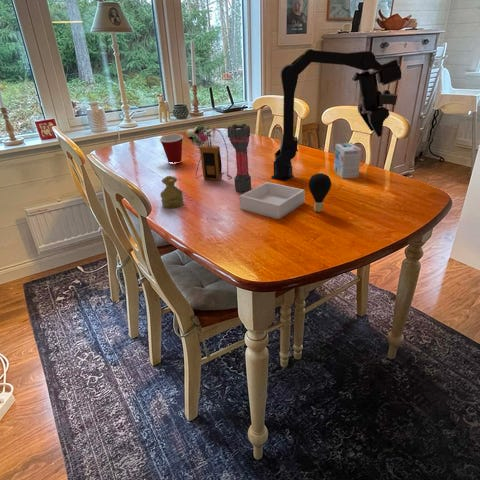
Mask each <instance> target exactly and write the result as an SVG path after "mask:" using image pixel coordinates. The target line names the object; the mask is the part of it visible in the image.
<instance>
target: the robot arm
mask: <svg viewBox="0 0 480 480" xmlns="http://www.w3.org/2000/svg"><path fill="white" fill-rule="evenodd" d="M311 63H316V64H317V63H319V64H329V65H339V66H347V67H351V68H354V69H356V70H362V71H364V72H361V73H359V72H357V71H356V72H355V73H354V76H353V77H352V78H351V80H352V81H354V82H358V84H359V89H360V91H359V92H360V94H359V98H360V99H361V101H362V103H359V105H358V106H357V113H359V116H361V118H362V119H363V121H364V122H365V124H366V126H367V127H368V129H369V130H370V131H371V132H374V133H375V135H376V136H377V137H378V138H380V137H382V135H383V134H382V133H383V126H384V122H385V121H386V119H388V118H389V116H390V110H389V109H388V108H386V107H384V105H391V106H396V105H397V101H398V97H399V96H398V95H397V94H395V93H391V92H390V90H388V89H384V90H383V91H382V92H381V91H380V90H379V86H378V84H381V85H382V86H386V85H389V84H392V83H395V82H398V81H401V80H402V69H401V68H400V65H399V63H398V59H396V58H395V59H391V60H390V61H387V62H385V63H382V64H381V63H380V62H379V61H378V60H377V59H376V55H375V54H374V53H373V52H372V51H369V50H359V51H350V52H338V51H325V50H315V49H311V48H307V49H306V50H305V51H304V52H303V53H302V54H301V55H299V56H298V57H297V58H296V59H295V60H294V61H292V62H291V63H289V64H285V65H283V67H282V68H281V69H280V80H281V86H282V93H283V104H282V105H283V108H282V110H283V115H282V118H283V119H282V120H283V121H282V129H283V130H282V136H281V140H280V144H279V145H280V146H279V148H278V150H277V151H276V152H275V153H274V159H275V160H274V161H273V175H272V176H271V177H270V178H271V179H275V180H279V181H287V180H289V179H291V178H293V177H294V174H293V166H292V159H294V158H295V157H296V155H297V153H298V152H299V150H298V144H299V139H298V136H294V120H295V119H294V118H295V117H294V116H295V114H294V113H295V112H294V111H295V92H296V88H297V85H298V79H299V75H300V74H301V73H302V72H304V70H305V69H307V68H308V66H309V65H311ZM369 70H373V71H372V72H370V71H369Z"/></svg>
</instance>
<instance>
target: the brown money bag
mask: <svg viewBox="0 0 480 480" xmlns="http://www.w3.org/2000/svg"><path fill="white" fill-rule="evenodd" d="M177 181H178V178H177V177H174V176H171V175H167V176H166V177H164V178H162V179H161V182H162V184H164V185H165V187H164V189H163V190H162V191H161V192H160V194H159V195H160V198H161V200H160V201H161V206H162V207H163V208H165V209H177V208H180V207H182V206H183V205H184V197H183V193H184V192H183V190H181V189H180V188H178V187H176V186H175V183H176V182H177Z"/></svg>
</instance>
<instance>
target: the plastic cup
mask: <svg viewBox="0 0 480 480" xmlns="http://www.w3.org/2000/svg"><path fill="white" fill-rule="evenodd" d="M183 138H184V135H183V134H179V133H171V134H166V135H163V136H161V137H160V138H158V141H159V142H160V143H161V145H162V147H163V151H164V153H165V157H166V158H167V163H169V162H173V163H174V162H180V161H181V162H182V155H183Z"/></svg>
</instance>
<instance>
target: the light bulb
mask: <svg viewBox="0 0 480 480" xmlns="http://www.w3.org/2000/svg"><path fill="white" fill-rule="evenodd" d="M307 184H308V185H307V186H308V189H309V192H310V194H311V195H312V198H313V200H314V203H313V204H314V206H313V210H314V211H315V212H317V213H320V212H322V211H323V210H324V209H323V208H324V200H325V198H326V197H327V195H328V194H329V191H330V190H331V187H332V180H331V178H330V177H329V176H328V174H326V173H319V172H318V173H315V174H313V175H312V176H311V177H310V178H309V180H308V183H307Z"/></svg>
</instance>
